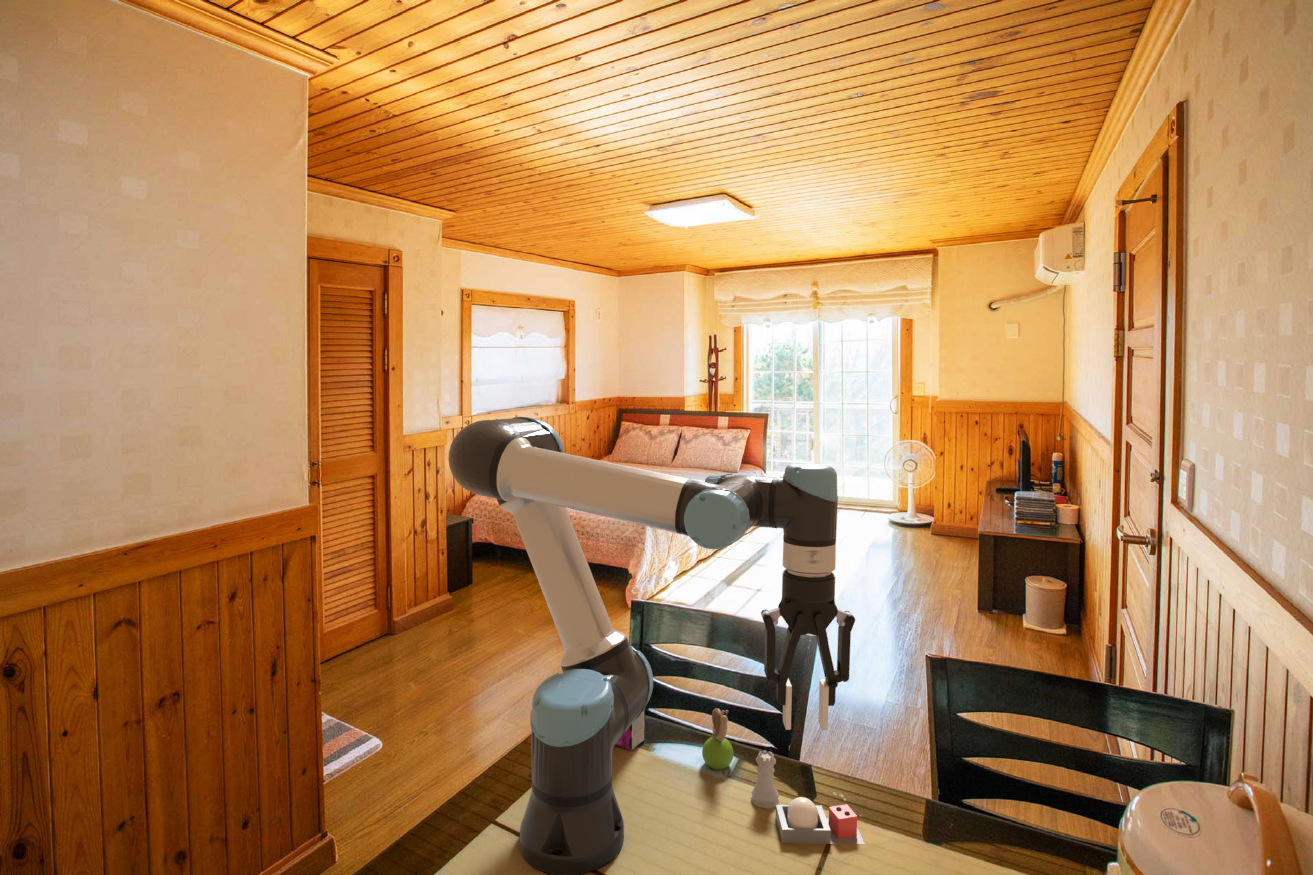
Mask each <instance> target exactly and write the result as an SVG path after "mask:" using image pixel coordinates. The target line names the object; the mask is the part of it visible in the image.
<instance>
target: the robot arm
mask: <svg viewBox="0 0 1313 875" xmlns="http://www.w3.org/2000/svg"><path fill="white" fill-rule="evenodd" d="M447 461H448V466H449V469H450V472H451V475H452V476H453V478H454V480H455V481H456V483H458V485H460V486H461V487H462V489H464V490H466V491H468V492H470V493H472V494H473V495H474V494H475V495H477V496H482V497H487V498H491V499H496V501H497V503H498V506H499V508H500V509H501V510H504V511H506V512H509V513H510V514H512V516H513V518H514V521H515V525H516V526H517V529H518V532H519V535H520V537H521V540H522V542H523V545H524V549H525V550H526V553H527V555H528V558H529V560H530V564H531V565H532V568H533V571H534V574H535V576H536V579H537V581H538V584H539V587H540V589H541V591H542V595H543V596H544V599H545V602H546V605H547V607H548V610H549V612H550V615H551V618H552V620H553V622H554V625H555V628H556V631H557V634H558V637H559V639H560V642H561V643H562V644H561V645H562V646H563V648H564V652H563V653H562V656H561V660H560V662H559V664H560V667H561V670H562V673H558V672H556V673H554V674H552V675H551V676H549V677H547V678H546V679H544V680H543V681H542V682H541V683H540V684H539V685H538V687H537V688H536V689H535V691H534V693H533V696H532V700H531V701H532V703H531V709H530V716H529V718H530V719H529V720H530V722H529V723H530V727H531V728H530V729H531V731H530V732H531V734H530V735H531V748H530V749H531V792H530V796H529V799H528V802H527V806H526V808H525V811H524V814H523V818H522V821H521V823H520V826H519V827H520V828H519V850H520V854H521V855H522V858H523V859H524V860H525V861H526V863H528V864H529V865H530V866H531V867H533V868H535V869H536V870H539V871H540V872H541V871H542V872H544V873H547V874H551V875H581V874H586V873H590V872H594V871H595V870H598V869H600V868H602V867H604V866H605V865H607V864H609V863H610V862H611V861H613V860H614V858H616V857H617V855H618V854H619V853H620V851H621V850H622V847H623V845H624V840H625V839H624V838H625V837H624V834H625V825H624V824H625V823H624V818H623V815H622V812H621V809H620V807H619V803H618V800H617V797H616V794H615V791H614V788H613V750H614V747H615V744H616V743H617V741H618V740H619V739H620V737H621V736H622V735H623V734H624V733H625V732H626V730H627V729H628V728H629V727H630V725H631V724H632V723H633V722H634V720H636V719H637V718H638V717H639V716H640V715H641V714H642V712H643V711H644V709H646V707H647V705H648V703H649V701H650V699H651V697H652V693H653V689H654V675H653V670H652V668H651V667H652V666H651V665H650V663H649V661H648V660H647V657H646V656H645V655H644V654H643V653H642V652H641V651H640V650H637V649H635V648H634V646H632V645H630V643H629V640H628V637H627V635H626V634H625V633H624V632H621V631H619V630H617V629H615V628H614V626H613V624H612V622H611V619H610V617H609V613H608V612H607V609H606V606H605V604H604V601H603V600H602V597H601V596H602V595H601V594H600V591H599V588H598V586H597V584H596V581H595V579H594V576H593V572H592V570H591V568H590V565H589V562H588V561H587V557H586V555H585V554H584V551H583V548H582V545H581V543H580V539H579V537H578V536H577V535H578V534H577V532H576V531H575V527H574V525H573V522H572V519H571V517H570V514H569V512H568V509H570V510H575V511H579V512H583V513H588V514H592V515H596V516H601V517H605V518H610V519H615V520H619V521H623V522H627V523H630V524H637V525H640V526H644V527H649V528H654V529H658V530H663V531H666V532H671V533H674V534H680V535H684V536H686V537H689V538H690V539H691V540H692V541H693V542H694V543H695V544H696V545H698V546H700V547H702V548H705V549H708V550H720V549H724V548H726V547H728V546H731V545H733V544H734V543H736V542H738V541H739V540H740V539H742V538H743V536H744V535H745V534H746V532H747V531H749V529H751V528H752V527H753V528H754V527H757V528H772V529H782V531H783V535H782V538H783V539H782V540H783V542H782V543H783V544H782V546H783V547H782V548H783V549H782V567H784V570H783V571H782V576H781V577H782V579H781V580H782V584H781V585H782V586H781V600H780V601H779V604H778V606H777V607H775V608H773V609H770V610H768V609H762V610H761V612H760V615H761V618H762V621H763V623H764V652H763V653H764V656H763V658H764V664H763V665H764V667H763V671H764V674H765V676H766V680H768V681H769V682H771V681H773V682H775V683H776V694H775V699H776V700H777V703H778V706H782V723H783V726H784V728H785V730H786V731H787V730H788V731H789V730H792V702H793V701H792V698H793V697H792V696H793V695H792V694H793V686H792V684H791V681H790V678H789V676H790V672H791V668H792V665H793V660H794V657H795V653H796V650H797V646H798V643H799V641H800V639H801V636H805V635H812V636H815V638H816V643H817V646H818V652H819V656H820V661H821V665H822V670H823V675H824V677H825V678H820V679H819V686H818V687H819V688H818V690H819V691H818V692H819V694H818V723H819V725H820V727H821V728H820V729H821V730H822V731H828V730H829V727H828V726H829V707H834V706H835V704H836V688H838V686H839V683H841V682H843V683H848V681H849V680H850V666H851V665H850V662H851V659H850V658H851V636H852V634H851V633H852V630H853V627H854V625H855V622H856V618H855V617H854V615H853V614H852V612H851V611H849V610H845V611H844V610H841V609H839V608H838V606H837V604H836V600H835V598H836V597H835V595H836V575H835V573H834V572H833V571H835V570H836V556H837V554H836V552H837V551H836V550H837V545H836V543H837V528H838V527H837V526H838V501H839V496H838V475H837V474H838V473H837V471H836V470H835V469H834V468H833V467H832V466H829V465H827V464H822V463H821V464H818V463H791V464H788V465H787V466H786V467H785V468H784V473H783V475H782V476H774V477H771V476H759V475H758V476H757V475H743V474H733V473H725V474H710V475H708V476H707V477H706V478H705V479H704V481H701V480H695V479H691V478H685V477H683V476H678V475H673V474H672V475H671V474H667V473H663V472H658V471H653V470H652V471H651V470H648V469H642V468H639V467H634V466H633V467H632V466H628V465H625V464H624V465H623V464H618V463H614V462H613V463H612V462H609V461H606V460H605V461H604V460H599V459H593V458H589V457H584V456H580V455H576V454H575V455H574V454H571V453H565V448H564V444H563V442H562V439H561V437H560V435H559V434H558V432H557V430H556V429H555V428H553V427H552V426H551V425H550V424H548V423H547V422H545V421H543V420H541V419H538V418H533V417H527V416H515V417H513V418H512V417H511V418H500V419H483V420H477V421H474V422H472V423H469V424H467V425H466V426H464V427H463V428H461V430H459V431H458V433H456V436H454V437H453V439H452V441H451V444H450V447H449V451H448V460H447ZM780 617H781V618H782V619H783V620H784V622H785V624H786V625H787V630H786V637H785V640H784V644H783V647H782V650H781V655H780V658H779V661H778V662H779V663H778V665H777V666H778V667H777V669H776V626H777V625H778V623H779V618H780ZM835 618H836V624H837V625H838V627H837V629H838V630H837V654H836V655H837V656H836V657H837V658H836V670H835V668H834V663H833V658H832V654H831V649H830V645H829V638H828V632H827V628H828V627H829V626H830V625H831V623H832V622H833V621H834V619H835Z"/></svg>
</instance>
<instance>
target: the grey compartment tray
mask: <svg viewBox="0 0 1313 875" xmlns="http://www.w3.org/2000/svg"><path fill="white" fill-rule="evenodd" d="M814 805H815V804H814ZM788 807H789V804H778V805H776V806H775V820H776V825H777V829H778V833H779V837H780V840H781V844H810V845H811V844H814V845H852V846H853V845H854V846H856V845H858V846H859V845H861V846H864V845H866V842H865V841H864V839H863V837H862V835H861V832H860V830H859V827H858V815H857V814H856V813H855V812H854V810H853V809H852V808H851V807H850V806H849V805H848V804H847V803H846V804H840V805H833V806H828V817H826V814H825V811H824V808H823V805H815V807H816V809H817V813H818V824H817V829H816V828H788V826H787V818H788Z"/></svg>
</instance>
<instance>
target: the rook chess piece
mask: <svg viewBox="0 0 1313 875" xmlns="http://www.w3.org/2000/svg"><path fill="white" fill-rule="evenodd" d="M755 762H756V763H757V768H756V771H757V780H756V784H755V785H754V787H753V788H752V791H751V797H750V799H751V802H752V803H753V804H754V805H755V806H756V807H758V808H763V809H772V808H776V805H779V802H780V800H779V799H780V798H779V797H780V796H779V792H778V789H777V787H776V785H775V780H774V773H775V771H776V770H775V768H774V766H775V765H776V764H777V759H776V758H775V755H774V753H773V752H772V751H768V753H767V750H763V751H759V752H758V754H757V757H756V758H755Z"/></svg>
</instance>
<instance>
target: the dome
mask: <svg viewBox="0 0 1313 875" xmlns="http://www.w3.org/2000/svg"><path fill="white" fill-rule="evenodd" d="M788 805H789V807H788V818H787V826H788V828H816V829H817V824H818V813H817V809H816V807H815V803H814V802H813V801H812V800H810V799H809V798H807V797H804V796H799V797H796V798H794V799H792V800H791V802H790V803H789V804H788Z"/></svg>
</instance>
